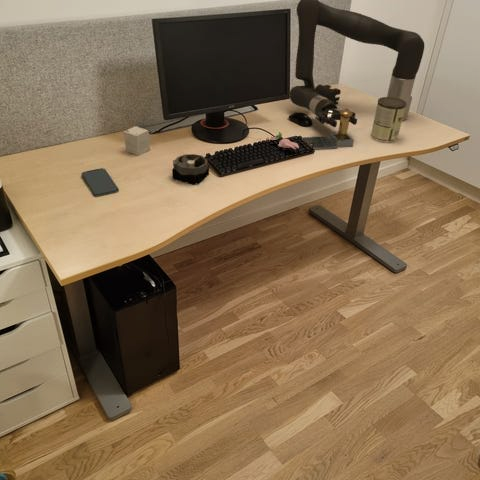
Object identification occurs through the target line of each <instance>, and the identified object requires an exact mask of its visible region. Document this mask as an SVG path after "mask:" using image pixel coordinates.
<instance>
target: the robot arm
mask: <svg viewBox="0 0 480 480" xmlns="http://www.w3.org/2000/svg"><path fill="white" fill-rule="evenodd" d="M296 15H297V19H298V20H297V21H298V42H297V49H296V50H297V51H296V60H295V61H296V62H295V73H294V75H295V79H297V80H301V81H303V83H304V85H295V86H293V87H292V88H290V91H289V93H290V96H289V99H290V101H291V103H292V104H293V105H295V106H298V107H301V108H304V109H306V110H308V111H310V113H312V114H313V115H315V118H314V119H315V120H316V121H318V123H320V124H321V125H324V124H326V125H330V126H331V127H333V128H337V125H338V121H340V119H341V115H340V110H341V109H339V108H338V107H337V104H335V103H333V102H332V101H330V100H328V99H327V98H325V97H322V96H321V95H319V94H317V93H315V88H316V87H315V82H314V75H313V73H314V61H315V58H314V57H315V39H316V38H315V37H316V30H317V26H320V27H324V28H327V29H330V30H331V31H333V32H335V33H338V34H339V35H341V36H343V37H345V38H348V39H350V40H353V41H356V42H359V43H362V44H369V45H378V46H383V47H386V48H388V49H391V50H393V51H395V52H396V53H397V55H396V60H395V64H394V67H393V68H392V73H391V77H390V81H389V85H388V88H387V95H386V97H394V98H398V99H402V100H404V101H405V102H406V103H407V104H406V107H405V111H404V115H403V119H402V122H403V121H405V120H408V116H409V113H410V109H411V105H412V101H413V97H412V93H413V92H412V91H413V88H414V84H415V81H416V77H417V74H418V72H419V69H420V66H421V62H422V60H423V57H424V52H425V42H424V40H423V38H422V37H421V35H420V34H418V33H417V32H414V31H412V30H411V31H410V30H405V29H401V28H396V27H393V26H390V25H388V24H386V23H384V22H382V21H380V20H377V19H375V18H373V17H370V16H368V15H365V14H362V13H358V12H355V11H352V10H344V9H340V8H337V7H336V8H335V7H332V6H330V5H329V4H325V3H324V2H321V1H319V0H299V2H298V3H297V5H296ZM344 110H349V109H348V108H344ZM352 112H353V111H352ZM349 123H351V125H354V126H355V125H357V123H358V119H357V118H356V112H353V113H352V116H350V120H349Z"/></svg>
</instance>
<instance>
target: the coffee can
mask: <svg viewBox="0 0 480 480" xmlns="http://www.w3.org/2000/svg"><path fill="white" fill-rule="evenodd" d="M406 104H407V103H406V102H405V101H404V100H402V99H398V98H394V97H387V96H384V97H380V98H378V99H377V104H376V110H375V114H374V117H373V118H374V120H373V124H372V129H371V134H370V137H371V139H372V140H375V141H377V142H380V143H387V144H388V143H390V144H391V143H396V142H397V141H398V139H399V135H400V131H401V126H402V123H403V121H402V119H403V115H404V111H405V107H406Z"/></svg>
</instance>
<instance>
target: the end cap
mask: <svg viewBox="0 0 480 480" xmlns="http://www.w3.org/2000/svg"><path fill="white" fill-rule="evenodd" d="M315 93H317V94H319V95H321V96H322V97H325V98H327V99H328V100H330V101H332V102H333V103H335V104H336V105H338V104H339V101H340V96H339V95H341V89H340V88H332V86H331V85H329V84H325V85H322V84H317V86H316V87H315Z"/></svg>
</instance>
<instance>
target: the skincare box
mask: <svg viewBox="0 0 480 480" xmlns="http://www.w3.org/2000/svg"><path fill="white" fill-rule="evenodd" d="M149 132H150V131H149V130H148V129H146V128H143V127H139V126H137V125H136V126H132V127H131V128H128V129H126V130H124V131H123V138H124V145H125V152H127V153H130V154H133V155H135V156H141V155H143V154H145V153H147V152H149V151H151V144H150V134H149Z"/></svg>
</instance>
